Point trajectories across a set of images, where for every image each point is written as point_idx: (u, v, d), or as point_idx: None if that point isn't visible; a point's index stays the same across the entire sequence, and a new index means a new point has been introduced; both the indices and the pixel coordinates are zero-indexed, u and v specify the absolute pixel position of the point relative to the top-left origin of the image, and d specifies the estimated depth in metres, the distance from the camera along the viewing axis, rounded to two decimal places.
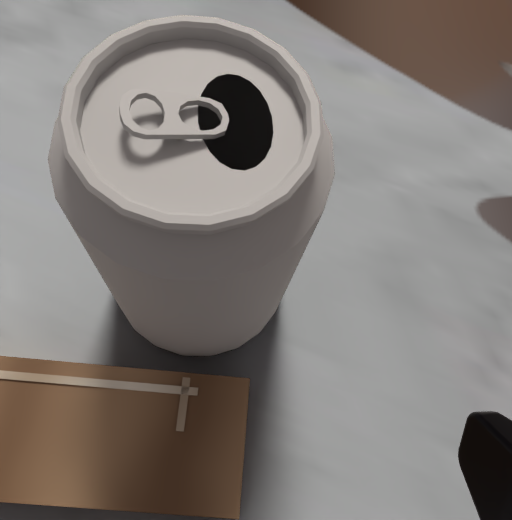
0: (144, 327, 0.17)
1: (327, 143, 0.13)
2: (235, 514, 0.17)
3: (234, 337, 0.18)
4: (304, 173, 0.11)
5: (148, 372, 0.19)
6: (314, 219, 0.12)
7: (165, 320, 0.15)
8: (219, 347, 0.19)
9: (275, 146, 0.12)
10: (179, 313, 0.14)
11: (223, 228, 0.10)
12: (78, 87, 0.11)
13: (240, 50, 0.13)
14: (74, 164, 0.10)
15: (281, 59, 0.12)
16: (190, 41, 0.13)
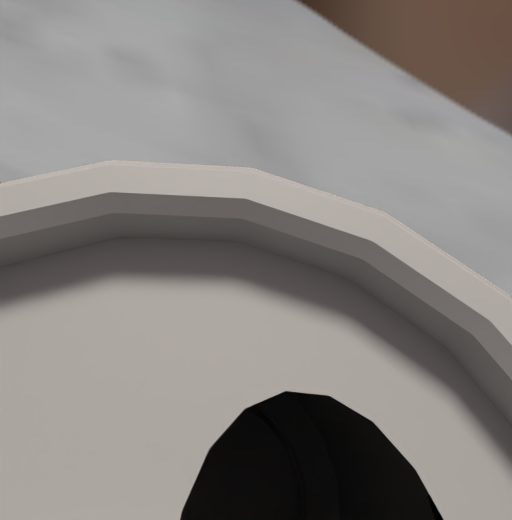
0: None
1: None
2: None
3: None
4: None
5: None
6: None
7: None
8: None
9: None
10: None
11: None
12: None
13: (327, 277, 0.04)
14: None
15: (509, 357, 0.03)
16: (146, 249, 0.04)
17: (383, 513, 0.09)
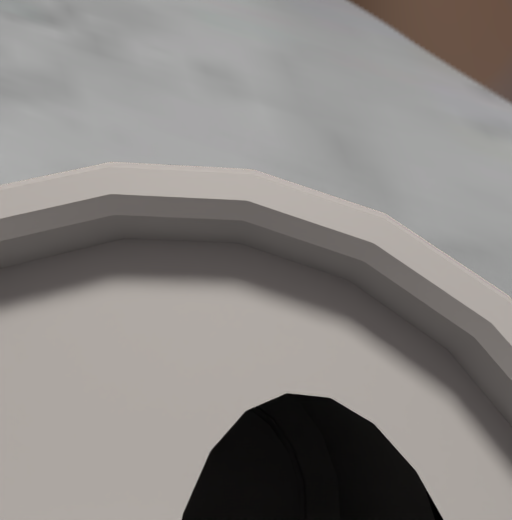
0: None
1: None
2: None
3: None
4: None
5: None
6: None
7: None
8: None
9: None
10: None
11: None
12: None
13: (329, 277, 0.04)
14: None
15: (511, 359, 0.03)
16: (147, 250, 0.04)
17: (383, 512, 0.09)
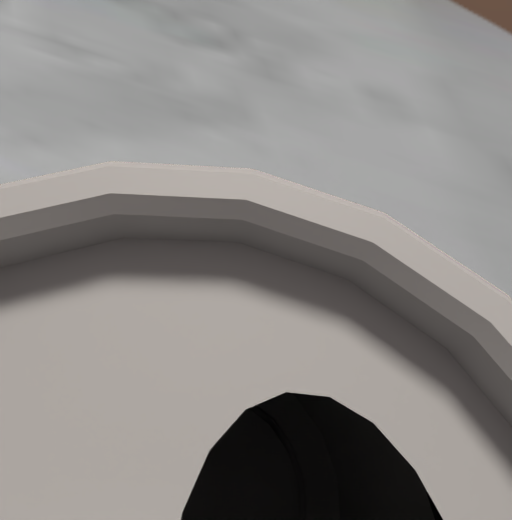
0: None
1: None
2: None
3: None
4: None
5: None
6: None
7: None
8: None
9: None
10: None
11: None
12: None
13: (328, 277, 0.04)
14: None
15: (510, 358, 0.03)
16: (146, 249, 0.04)
17: (383, 512, 0.09)
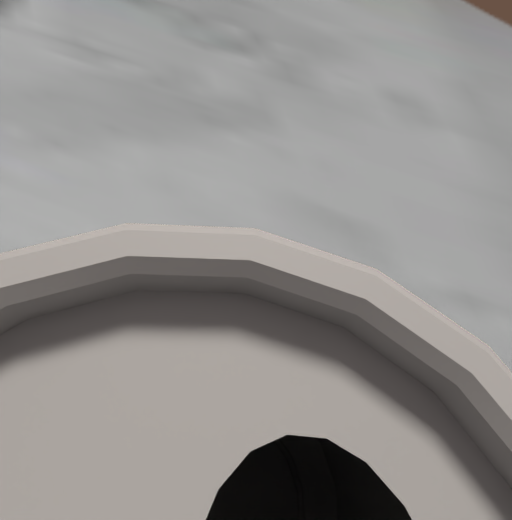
0: None
1: None
2: None
3: None
4: None
5: None
6: None
7: None
8: None
9: None
10: None
11: None
12: None
13: (325, 325, 0.04)
14: None
15: (489, 406, 0.03)
16: (157, 300, 0.04)
17: None
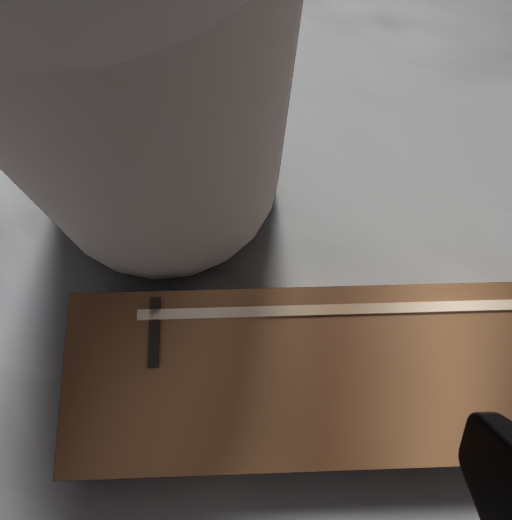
0: (82, 238, 0.12)
1: None
2: None
3: (213, 238, 0.13)
4: None
5: (477, 286, 0.14)
6: None
7: (91, 207, 0.10)
8: (197, 259, 0.14)
9: None
10: (99, 182, 0.09)
11: None
12: None
13: None
14: None
15: None
16: None
17: None
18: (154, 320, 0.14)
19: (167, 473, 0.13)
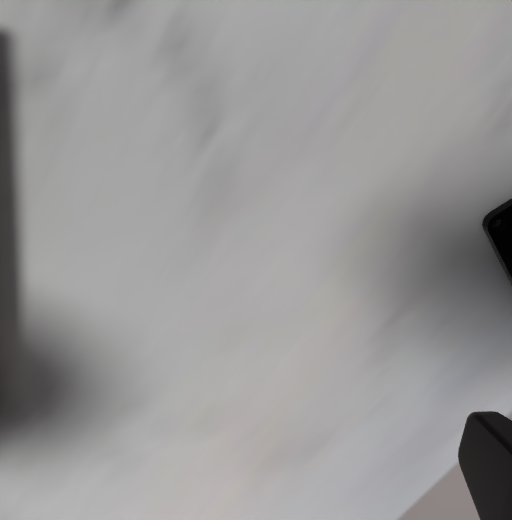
0: None
1: None
2: None
3: None
4: None
5: None
6: None
7: None
8: None
9: None
10: None
11: None
12: None
13: None
14: None
15: None
16: None
17: None
18: None
19: None
